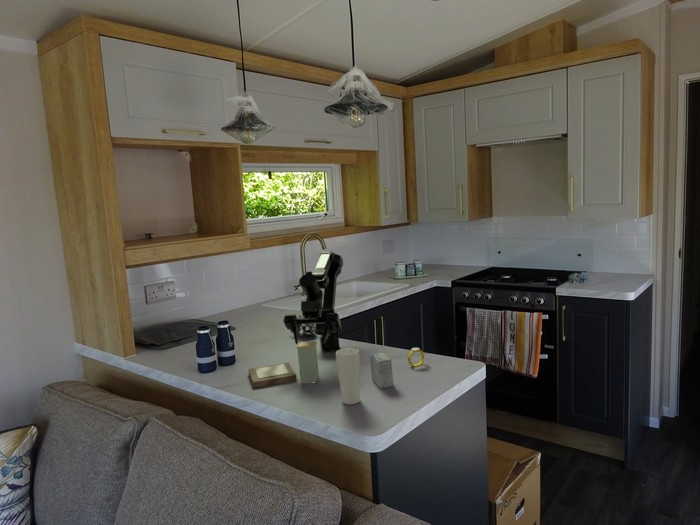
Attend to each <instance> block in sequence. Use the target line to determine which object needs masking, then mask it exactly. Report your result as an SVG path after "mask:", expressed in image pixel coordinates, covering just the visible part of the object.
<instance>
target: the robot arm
mask: <svg viewBox="0 0 700 525" xmlns="http://www.w3.org/2000/svg"><path fill="white" fill-rule="evenodd" d="M343 267H344V260H343V257H342V255H341V254H340V255H339V254H337V253H334V251H322V252H320V253H319V258H318V261H317V264H316V266H315V267H314V268H313V269H312V270H310V271H306V272H305V274H303V275H302V276H301V277H300V278H299V280H298V282H299V285H300V288H301V290H302V293H303V294H304V295H306V296H305V300H302V301H301V302H300V312H302V313H301V314H302V315H303V316H304V318H299V317H298V316H297V314H285V316H284V317H283V323H284V326H285V328H286V329H287V330H289V331H290V332H291V331H293V332H292V334H293V338H294V343H295V345H299V335H300V332H299V329H298V327H299V324H315V327H316V335H318V336H319V335H320V337H319V345H320V349H321V350H322V351H323V350H324V351H327V352H332V351H331V350H333V351H337V350H336V349H339V350H340V349H342V348H341V346H340V341H339V340H340V337H339V335H340V334H342V331H343V330H342V325H341V318H340V316H339V313H338V312H336V311H335V308H336V307H335V306H336V305H335V304H336V293H337V281H338V280H337V278H338V277H339V275H340V274H341V273H342V269H343ZM323 290H324V291H323ZM324 351H323V352H324Z"/></svg>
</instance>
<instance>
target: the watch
mask: <svg viewBox="0 0 700 525" xmlns="http://www.w3.org/2000/svg"><path fill="white" fill-rule="evenodd" d="M418 352H420V355H421V358H420V361H419V362H418V363H416V364H413V362H412V356H413V354H414V353H418ZM425 359H426V358H425V353H424V351H423V350H421V349H420V348H419V347H412V348H411V349H410V352H409V353H408V356H407V362H408V364H409V365H410V366H411V367H413V368H416V367H419V366H422V365H423V363H424V361H425Z"/></svg>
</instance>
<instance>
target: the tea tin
mask: <svg viewBox="0 0 700 525" xmlns="http://www.w3.org/2000/svg"><path fill="white" fill-rule="evenodd" d="M296 349H297V357H298V368H299V378H300V384H312V383H311V382H316V381H317V382H318V380H319V379H320V375H319V374H320V373H319V363H318V352H317V340H316V341H315V340H314V341H313V340H312V341H310V340H309V341H300V342H298V344H297V345H296ZM318 378H319V379H318ZM317 379H318V380H317ZM317 382H316V383H317Z"/></svg>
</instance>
